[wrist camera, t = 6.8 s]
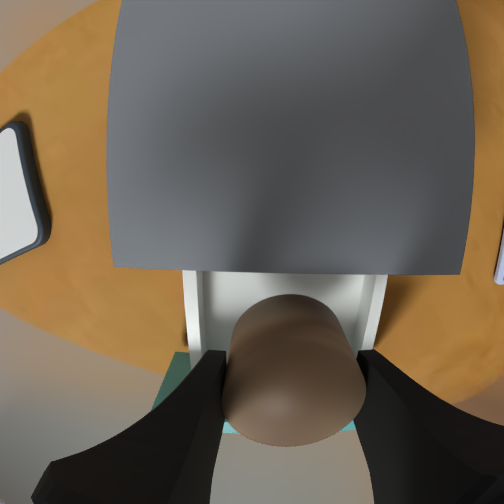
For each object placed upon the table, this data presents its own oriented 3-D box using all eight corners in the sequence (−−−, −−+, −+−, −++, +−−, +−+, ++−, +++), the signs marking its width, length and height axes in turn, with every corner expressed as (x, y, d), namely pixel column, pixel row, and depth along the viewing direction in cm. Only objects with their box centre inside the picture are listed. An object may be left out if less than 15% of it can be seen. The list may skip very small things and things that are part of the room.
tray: (372, 364, 17) (400, 422, 12) (177, 362, 17) (153, 423, 12) (405, 167, 13) (465, 173, 8) (162, 156, 14) (113, 155, 9)
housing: (392, 232, 15) (459, 274, 9) (169, 225, 15) (113, 267, 9) (392, 27, 12) (449, -22, 5) (176, 14, 12) (134, -49, 6)
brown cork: (351, 295, 11) (382, 346, 8) (331, 385, 12) (347, 443, 9) (231, 291, 11) (219, 343, 8) (230, 383, 12) (222, 444, 9)
